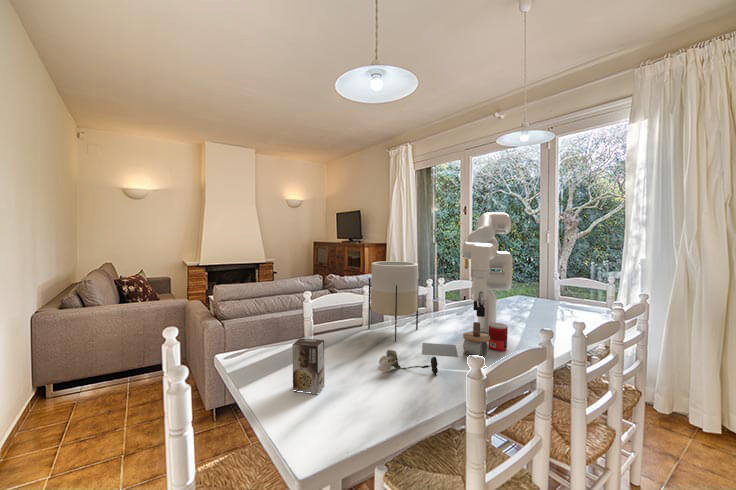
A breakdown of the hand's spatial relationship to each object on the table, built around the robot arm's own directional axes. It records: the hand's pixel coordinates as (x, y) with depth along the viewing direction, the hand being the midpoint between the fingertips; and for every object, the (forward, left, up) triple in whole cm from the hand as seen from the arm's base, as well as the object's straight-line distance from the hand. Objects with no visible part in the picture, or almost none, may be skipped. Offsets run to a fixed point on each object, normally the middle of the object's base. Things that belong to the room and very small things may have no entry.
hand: (478, 313), depth 147 cm
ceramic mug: (+3, -2, -18) cm, 19 cm away
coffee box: (+45, -60, -18) cm, 77 cm away
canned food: (-9, +10, -18) cm, 23 cm away
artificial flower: (+24, -29, -18) cm, 42 cm away
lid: (+1, -1, -10) cm, 10 cm away
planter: (-21, -40, -18) cm, 49 cm away
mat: (-1, -16, -18) cm, 24 cm away
